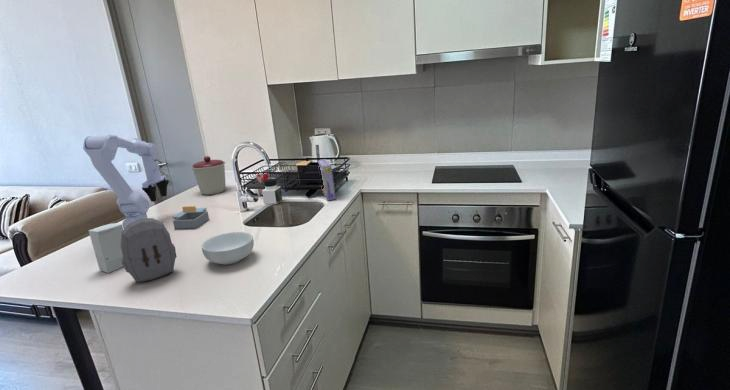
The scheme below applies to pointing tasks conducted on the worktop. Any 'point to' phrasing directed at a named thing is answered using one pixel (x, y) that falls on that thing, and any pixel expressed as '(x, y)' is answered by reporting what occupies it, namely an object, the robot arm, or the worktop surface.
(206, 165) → the canister
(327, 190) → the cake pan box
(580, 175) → the worktop surface
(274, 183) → the medicine bottle
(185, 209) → the lid
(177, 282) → the worktop surface
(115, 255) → the skincare box
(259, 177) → the soda can
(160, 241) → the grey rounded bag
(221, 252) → the cereal bowl
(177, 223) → the tub
